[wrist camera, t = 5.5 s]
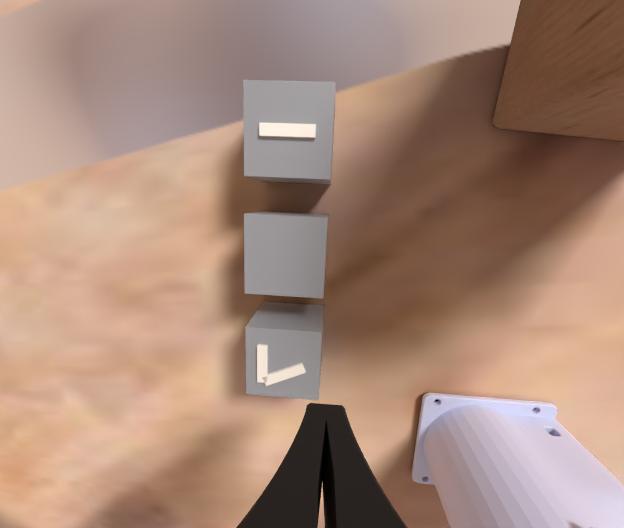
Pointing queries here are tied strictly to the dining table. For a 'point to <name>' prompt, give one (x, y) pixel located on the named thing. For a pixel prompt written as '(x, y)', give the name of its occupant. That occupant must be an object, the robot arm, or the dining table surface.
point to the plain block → (285, 253)
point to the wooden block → (565, 70)
